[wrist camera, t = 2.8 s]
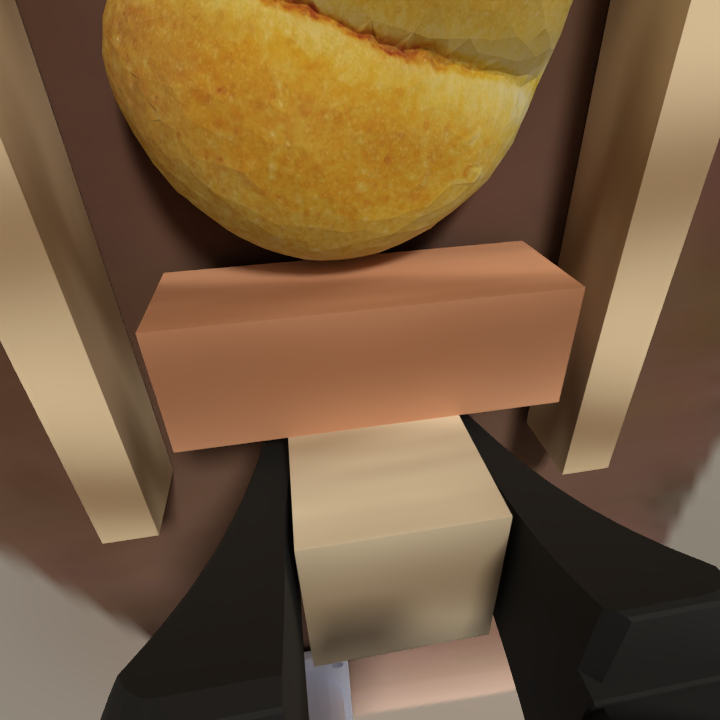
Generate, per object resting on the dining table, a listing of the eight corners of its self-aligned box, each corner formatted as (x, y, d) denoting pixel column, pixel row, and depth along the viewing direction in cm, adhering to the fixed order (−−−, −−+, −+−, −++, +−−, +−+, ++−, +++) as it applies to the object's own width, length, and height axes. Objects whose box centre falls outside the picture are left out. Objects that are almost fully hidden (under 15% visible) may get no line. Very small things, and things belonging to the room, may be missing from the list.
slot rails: (566, 417, 17) (607, 467, 15) (124, 477, 15) (102, 543, 13) (746, -290, 9) (900, -399, 6) (-214, -335, 7) (-426, -505, 5)
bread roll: (103, 174, 11) (31, 229, 8) (180, -439, 7) (99, -879, 4) (422, 278, 14) (470, 351, 10) (611, -124, 10) (792, -215, 6)
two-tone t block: (492, 443, 16) (590, 614, 11) (219, 481, 15) (196, 689, 10) (522, 240, 13) (690, 364, 8) (163, 272, 12) (84, 440, 7)
